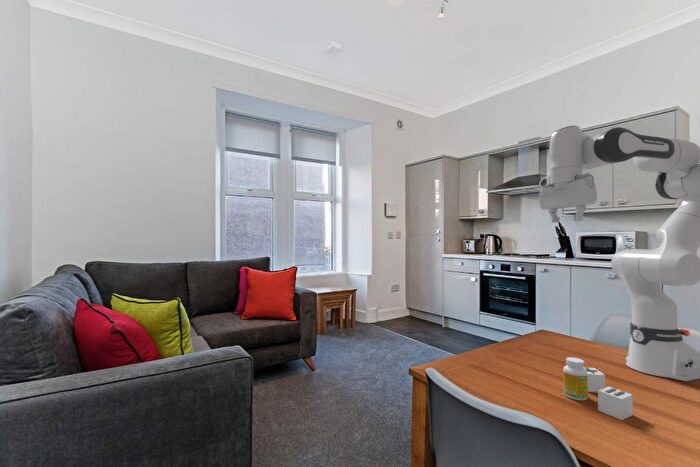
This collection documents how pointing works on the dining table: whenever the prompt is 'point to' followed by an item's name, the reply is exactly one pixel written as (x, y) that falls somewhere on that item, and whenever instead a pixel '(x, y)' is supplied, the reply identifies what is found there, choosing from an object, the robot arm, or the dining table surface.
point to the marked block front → (615, 403)
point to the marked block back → (595, 380)
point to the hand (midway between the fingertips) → (566, 221)
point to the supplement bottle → (575, 379)
